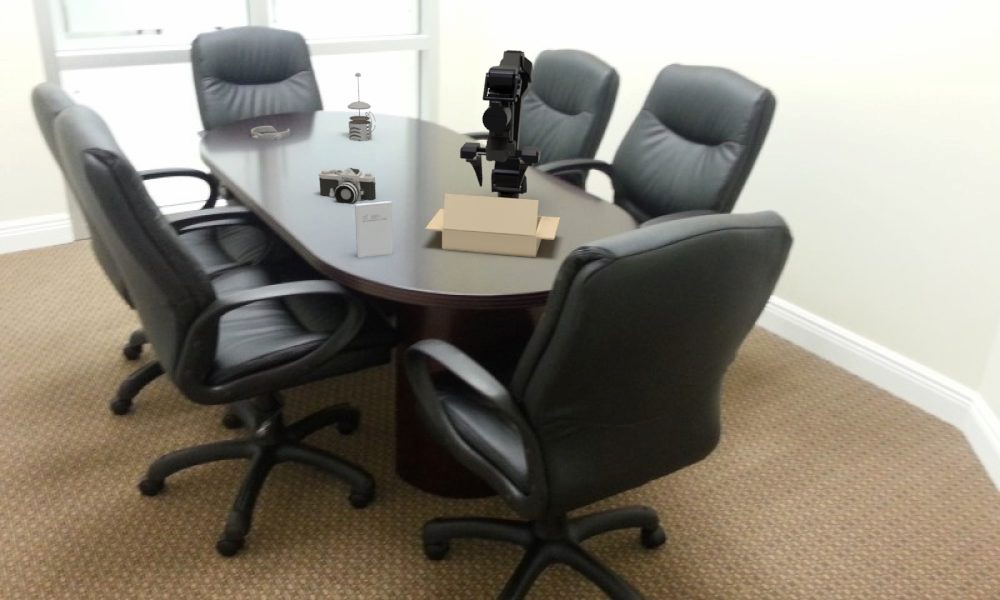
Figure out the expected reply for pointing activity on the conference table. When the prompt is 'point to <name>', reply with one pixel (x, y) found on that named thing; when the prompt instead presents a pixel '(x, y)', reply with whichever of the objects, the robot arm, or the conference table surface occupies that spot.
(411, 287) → the conference table surface
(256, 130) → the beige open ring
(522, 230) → the kraft flap
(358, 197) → the camera
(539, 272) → the conference table surface
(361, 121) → the french press
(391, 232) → the hard drive
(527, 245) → the carton
